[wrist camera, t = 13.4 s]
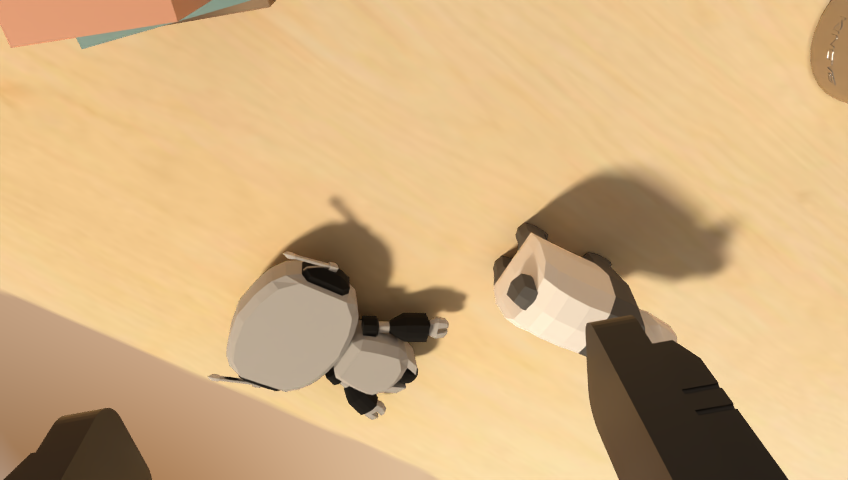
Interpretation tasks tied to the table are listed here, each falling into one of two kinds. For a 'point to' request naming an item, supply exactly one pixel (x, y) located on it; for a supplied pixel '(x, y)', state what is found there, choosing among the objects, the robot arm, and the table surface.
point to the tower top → (218, 2)
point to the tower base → (233, 9)
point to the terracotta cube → (85, 17)
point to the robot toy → (321, 336)
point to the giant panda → (564, 292)
